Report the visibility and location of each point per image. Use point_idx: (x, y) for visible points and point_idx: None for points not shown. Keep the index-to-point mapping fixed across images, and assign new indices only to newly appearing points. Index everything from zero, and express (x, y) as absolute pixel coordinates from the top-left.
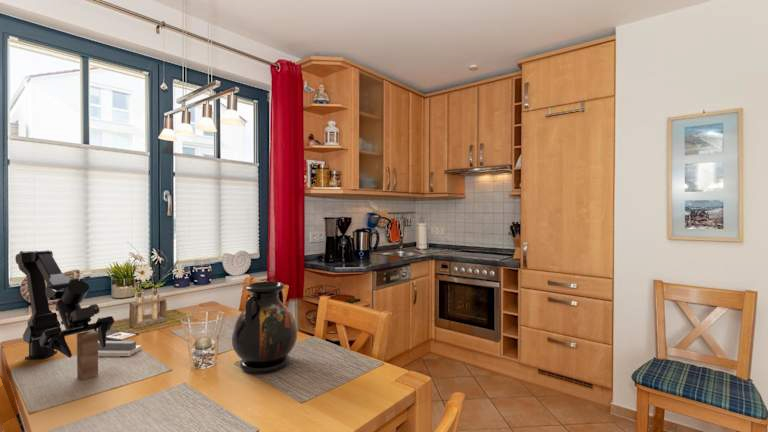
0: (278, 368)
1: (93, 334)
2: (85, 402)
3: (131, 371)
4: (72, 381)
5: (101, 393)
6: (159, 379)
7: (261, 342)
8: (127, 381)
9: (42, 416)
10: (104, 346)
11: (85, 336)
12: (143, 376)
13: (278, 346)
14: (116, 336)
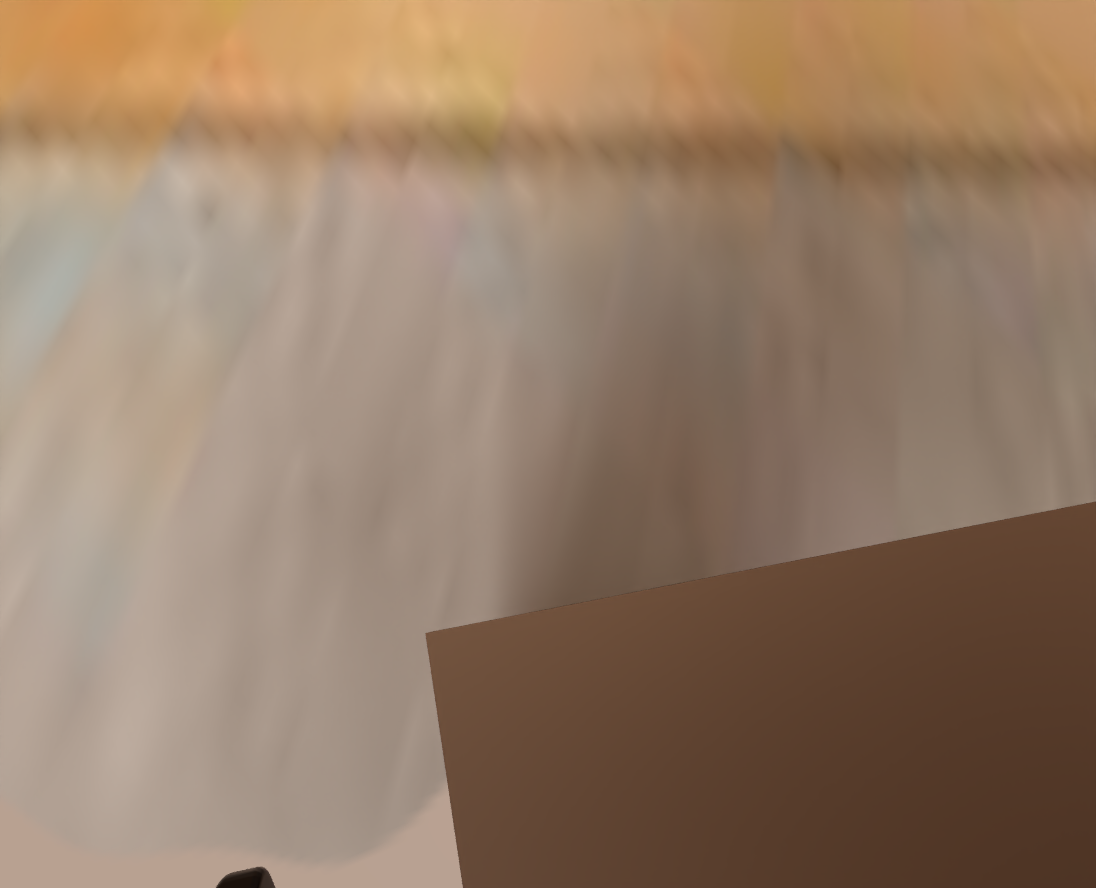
0: None
1: (668, 585)
2: (752, 38)
3: (145, 475)
4: None
5: (604, 113)
6: (83, 9)
7: None
8: (318, 202)
9: (1058, 40)
10: (260, 867)
11: (1061, 509)
12: (139, 202)
13: None
14: None
